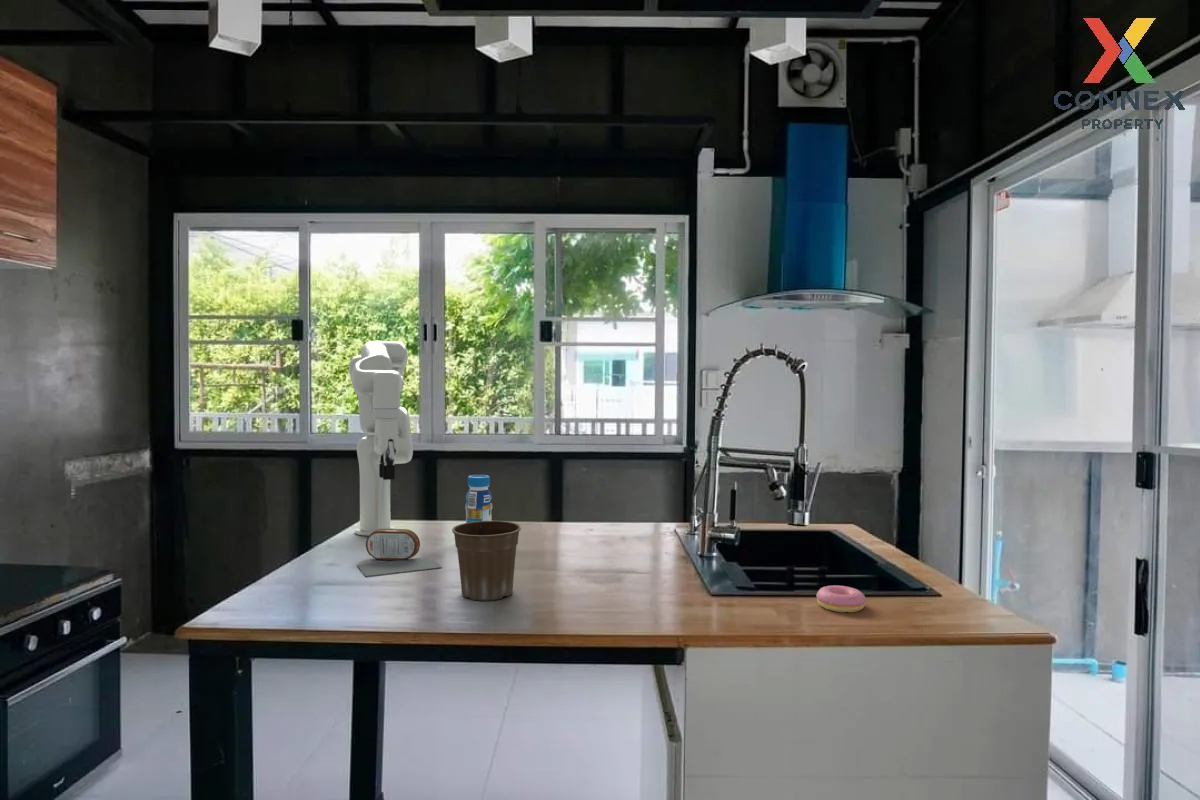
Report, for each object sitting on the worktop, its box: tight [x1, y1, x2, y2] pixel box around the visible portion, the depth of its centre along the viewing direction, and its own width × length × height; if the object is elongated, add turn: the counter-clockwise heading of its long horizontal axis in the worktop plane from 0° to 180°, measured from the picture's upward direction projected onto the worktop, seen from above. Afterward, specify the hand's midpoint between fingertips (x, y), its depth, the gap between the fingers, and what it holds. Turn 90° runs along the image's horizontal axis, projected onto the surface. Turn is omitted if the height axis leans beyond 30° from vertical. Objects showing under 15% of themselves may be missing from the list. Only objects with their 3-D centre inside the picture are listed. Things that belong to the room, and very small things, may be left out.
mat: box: [356, 556, 443, 577], centre depth 204 cm, size 12×20×1 cm, turn 118°
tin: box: [365, 528, 421, 561], centre depth 211 cm, size 15×3×8 cm, turn 84°
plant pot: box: [451, 520, 522, 602], centre depth 180 cm, size 16×16×16 cm
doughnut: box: [815, 584, 867, 613], centre depth 174 cm, size 11×11×4 cm
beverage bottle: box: [464, 474, 493, 523], centre depth 237 cm, size 8×8×20 cm
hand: (386, 477), depth 216 cm, fingers open, 3 cm apart
